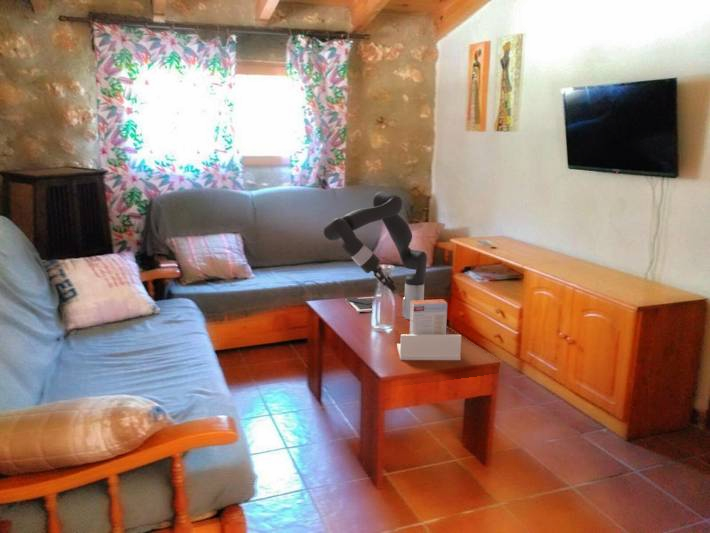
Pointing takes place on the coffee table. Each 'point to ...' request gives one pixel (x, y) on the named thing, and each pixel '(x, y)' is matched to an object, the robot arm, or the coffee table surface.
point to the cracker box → (428, 316)
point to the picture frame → (361, 303)
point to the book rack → (429, 347)
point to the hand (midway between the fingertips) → (393, 286)
